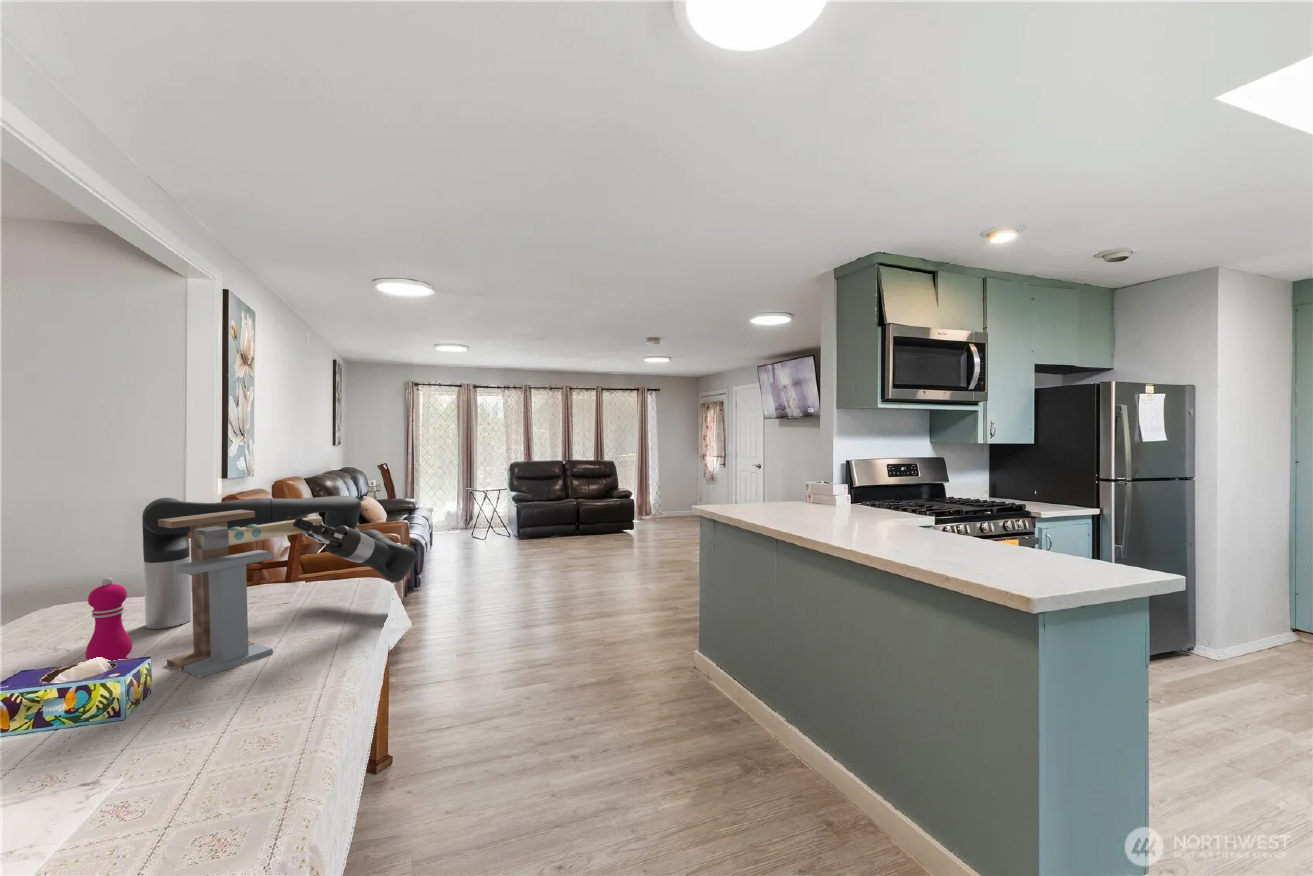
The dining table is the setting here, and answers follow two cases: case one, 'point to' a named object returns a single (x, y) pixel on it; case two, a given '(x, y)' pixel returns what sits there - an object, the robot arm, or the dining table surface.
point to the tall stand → (201, 580)
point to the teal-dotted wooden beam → (246, 533)
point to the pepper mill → (108, 622)
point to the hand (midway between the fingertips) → (291, 521)
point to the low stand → (227, 611)
